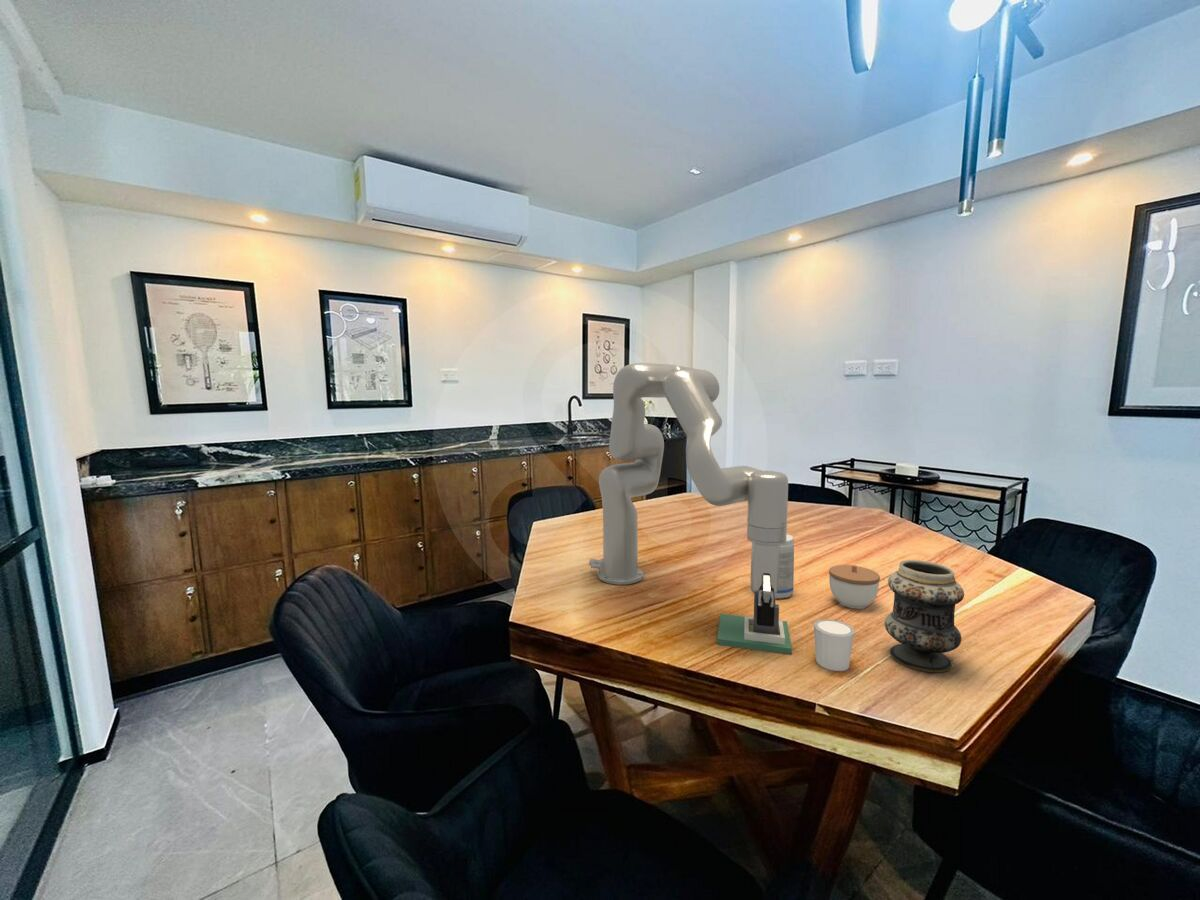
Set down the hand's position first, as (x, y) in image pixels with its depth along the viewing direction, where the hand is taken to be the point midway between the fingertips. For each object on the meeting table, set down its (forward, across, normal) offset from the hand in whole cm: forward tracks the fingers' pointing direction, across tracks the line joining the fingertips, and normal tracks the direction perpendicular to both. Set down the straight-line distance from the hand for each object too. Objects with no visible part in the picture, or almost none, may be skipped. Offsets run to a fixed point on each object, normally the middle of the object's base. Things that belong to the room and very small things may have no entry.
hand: (764, 614), depth 99 cm
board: (+5, -1, -2) cm, 6 cm away
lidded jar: (+5, -24, +21) cm, 32 cm away
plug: (+4, 0, 0) cm, 4 cm away
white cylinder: (+5, +6, +12) cm, 14 cm away
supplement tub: (+5, -26, +3) cm, 27 cm away
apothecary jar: (+5, 0, +28) cm, 29 cm away
